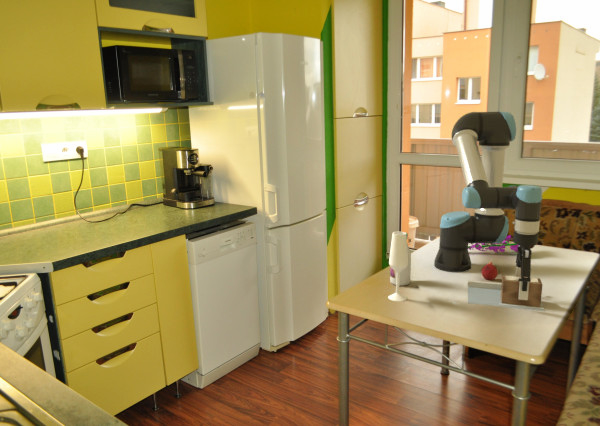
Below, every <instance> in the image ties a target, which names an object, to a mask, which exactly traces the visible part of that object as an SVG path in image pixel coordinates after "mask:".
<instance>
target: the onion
mask: <svg viewBox="0 0 600 426" xmlns="http://www.w3.org/2000/svg"><path fill="white" fill-rule="evenodd" d="M498 274H499V272H498V268H497V267H496V265H494V264H493V262H492V261H490V262H488V263H487V264H485V265H484V266H483V267H482V269H481V275H482V278H483V279H485V280H488V281H493V280H495V279H496V278H497V276H498Z"/></svg>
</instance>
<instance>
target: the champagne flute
mask: <svg viewBox="0 0 600 426" xmlns="http://www.w3.org/2000/svg"><path fill="white" fill-rule="evenodd" d="M406 233H407V232H405V231H393V232H392V235H391V243H390V249H389V250H390V251H389V257H388V258H389V260H388V265H389V266H390V267H391V268H392V269H393V270H394V271H395V272H397V273H396V285H395V292H394V293H392V294H390V295H388V296H387V298H388V299H389V300H390V301H392V302H404V301H407V300H408V299H407V296H405V294H404V295H403V294H402V293H400V286H399V284H400V272H402V271H403V270H404V269H405V268H406V267H407V266H408V253H407V244H408V239H407V238H408V237H406Z"/></svg>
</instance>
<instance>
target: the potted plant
mask: <svg viewBox="0 0 600 426" xmlns="http://www.w3.org/2000/svg"><path fill="white" fill-rule="evenodd" d="M510 240H513V237H512V235H507V237H506V239H505V240H504V241H503V242H502V243H494V244H488V243H470V245H468V250H469V251H470V250H471V251H474V250H477V251H480V252H487V251H493V252H495V253H498V252H501V253H505V252H506V250H505V249H506V247H509V249H510V250H511V251H514V252H518V250H517V249H518V244H515V243H514V242H512V243H510ZM530 248H531V250H532V249H533V248H535V245H534V246H530Z"/></svg>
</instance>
